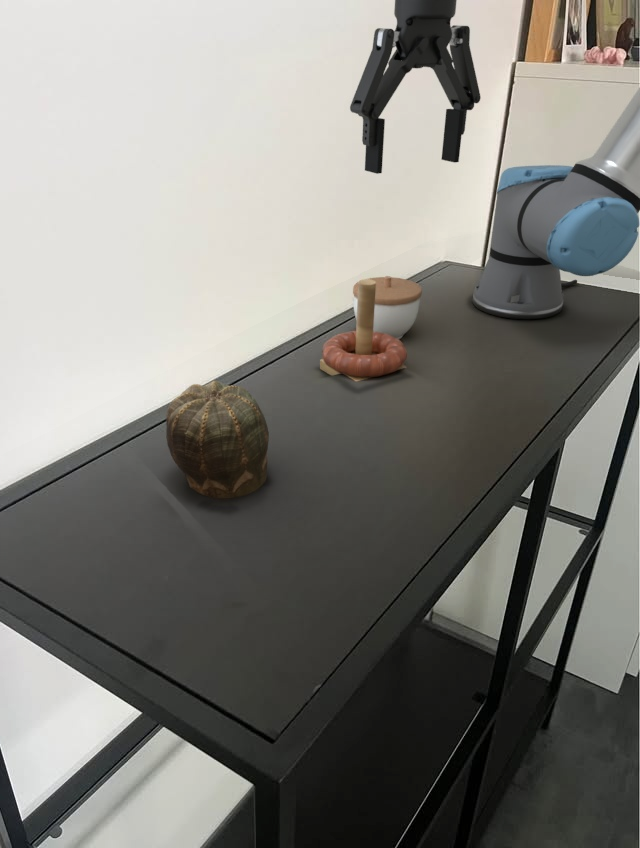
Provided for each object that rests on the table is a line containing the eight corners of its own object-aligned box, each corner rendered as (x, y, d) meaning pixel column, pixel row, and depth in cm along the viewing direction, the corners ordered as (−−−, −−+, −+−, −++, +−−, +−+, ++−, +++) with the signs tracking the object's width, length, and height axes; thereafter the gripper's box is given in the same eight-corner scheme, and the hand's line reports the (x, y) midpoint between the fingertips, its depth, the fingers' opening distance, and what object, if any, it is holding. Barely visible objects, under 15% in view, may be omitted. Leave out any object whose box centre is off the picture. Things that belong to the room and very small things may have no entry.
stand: (368, 355, 117) (373, 267, 110) (406, 376, 111) (414, 284, 103) (319, 368, 113) (321, 278, 106) (356, 391, 107) (360, 297, 100)
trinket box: (415, 349, 119) (421, 290, 114) (347, 344, 121) (349, 286, 116) (419, 324, 128) (424, 268, 123) (355, 320, 130) (357, 265, 125)
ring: (371, 340, 118) (372, 322, 117) (422, 367, 110) (424, 347, 108) (306, 357, 113) (306, 338, 111) (355, 387, 104) (356, 367, 103)
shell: (179, 461, 91) (170, 368, 85) (271, 462, 91) (269, 369, 84) (164, 514, 82) (153, 414, 75) (267, 515, 82) (265, 415, 75)
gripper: (480, -19, 102) (461, 152, 113) (325, -18, 91) (321, 172, 102) (522, -20, 96) (498, 160, 108) (363, -19, 85) (355, 181, 97)
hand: (412, 166), depth 105 cm, fingers open, 13 cm apart
